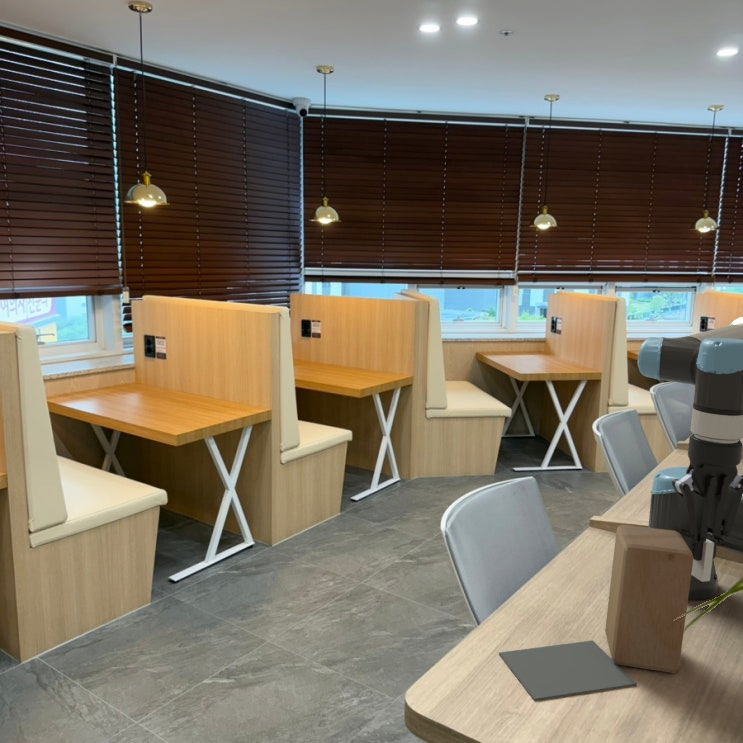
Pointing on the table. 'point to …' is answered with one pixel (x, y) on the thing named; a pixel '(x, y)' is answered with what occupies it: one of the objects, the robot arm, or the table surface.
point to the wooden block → (648, 597)
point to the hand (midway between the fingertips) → (700, 577)
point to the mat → (565, 670)
